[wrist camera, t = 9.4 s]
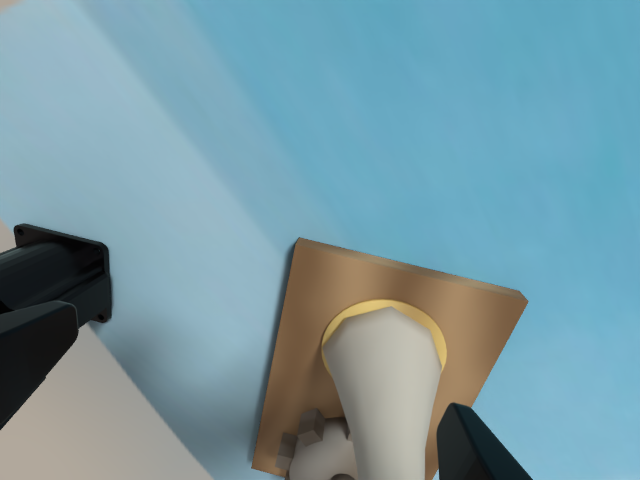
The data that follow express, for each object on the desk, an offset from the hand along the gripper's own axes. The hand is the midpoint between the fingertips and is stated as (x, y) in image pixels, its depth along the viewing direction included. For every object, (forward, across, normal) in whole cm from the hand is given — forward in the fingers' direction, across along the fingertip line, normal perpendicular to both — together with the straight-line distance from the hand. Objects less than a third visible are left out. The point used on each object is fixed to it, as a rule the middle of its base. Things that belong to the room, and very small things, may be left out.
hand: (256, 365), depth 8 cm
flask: (+12, -6, +8) cm, 15 cm away
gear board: (+13, -6, +12) cm, 19 cm away
